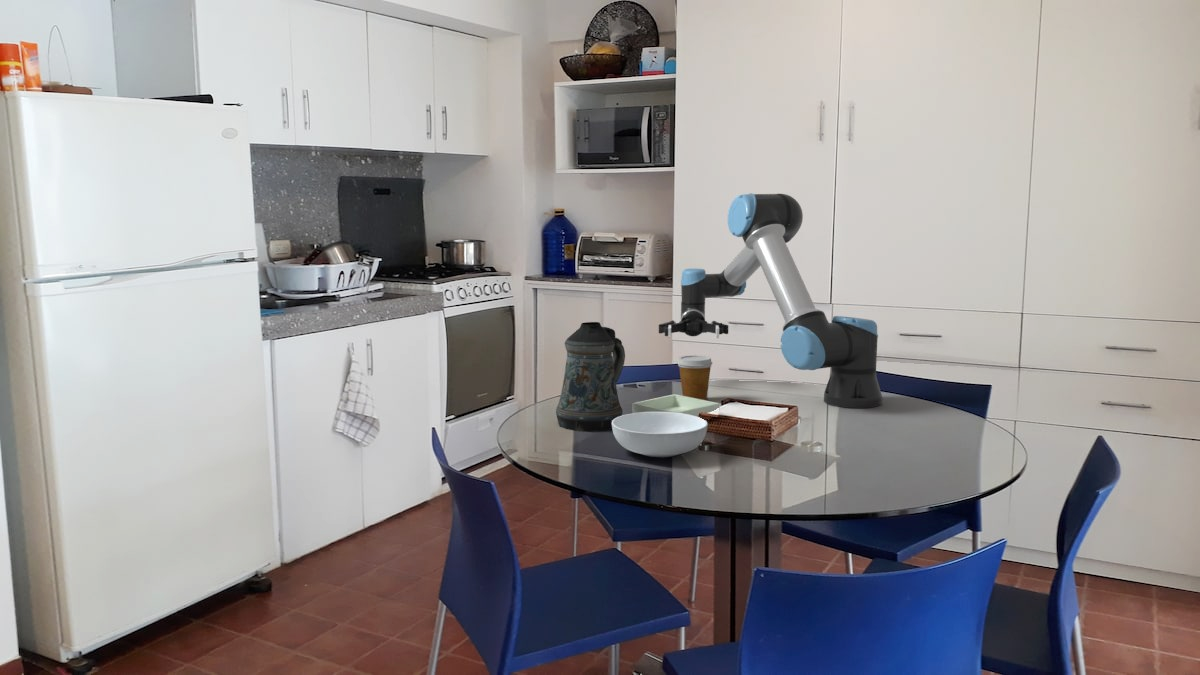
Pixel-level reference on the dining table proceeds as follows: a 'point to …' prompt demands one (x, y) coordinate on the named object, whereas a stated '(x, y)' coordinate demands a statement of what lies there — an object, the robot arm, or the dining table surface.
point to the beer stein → (591, 379)
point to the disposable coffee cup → (695, 375)
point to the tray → (675, 405)
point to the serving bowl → (659, 432)
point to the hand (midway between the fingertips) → (693, 333)
